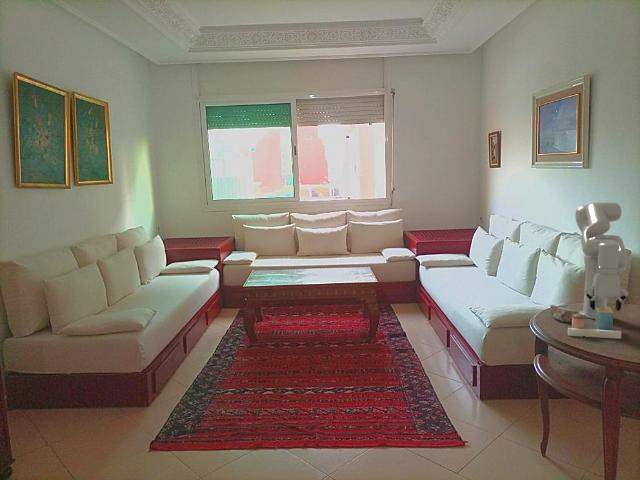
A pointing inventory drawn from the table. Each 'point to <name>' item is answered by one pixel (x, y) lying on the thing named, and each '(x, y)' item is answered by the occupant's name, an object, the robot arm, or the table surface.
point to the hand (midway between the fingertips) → (605, 309)
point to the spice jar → (578, 321)
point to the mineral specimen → (562, 313)
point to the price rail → (594, 333)
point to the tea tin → (604, 318)
